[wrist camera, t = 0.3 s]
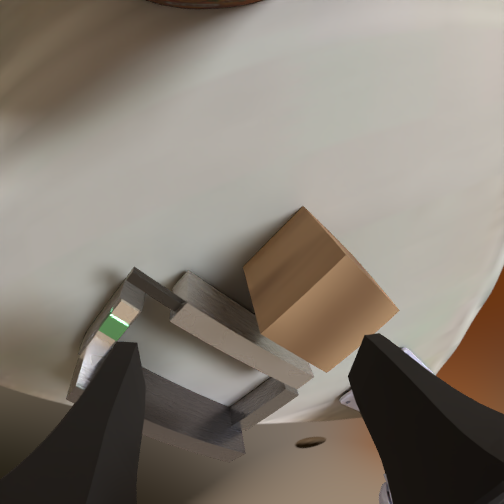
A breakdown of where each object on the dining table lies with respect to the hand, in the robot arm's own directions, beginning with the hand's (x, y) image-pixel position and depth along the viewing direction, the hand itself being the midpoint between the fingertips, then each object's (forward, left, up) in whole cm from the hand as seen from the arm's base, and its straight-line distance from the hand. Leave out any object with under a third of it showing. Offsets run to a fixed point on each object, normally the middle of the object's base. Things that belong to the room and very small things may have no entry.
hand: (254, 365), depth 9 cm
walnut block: (-4, -2, -10) cm, 11 cm away
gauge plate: (-3, +4, -9) cm, 10 cm away
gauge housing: (-4, +10, -10) cm, 14 cm away
